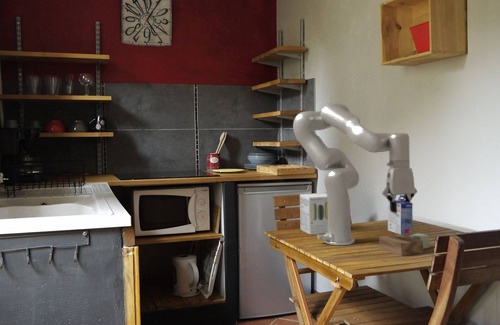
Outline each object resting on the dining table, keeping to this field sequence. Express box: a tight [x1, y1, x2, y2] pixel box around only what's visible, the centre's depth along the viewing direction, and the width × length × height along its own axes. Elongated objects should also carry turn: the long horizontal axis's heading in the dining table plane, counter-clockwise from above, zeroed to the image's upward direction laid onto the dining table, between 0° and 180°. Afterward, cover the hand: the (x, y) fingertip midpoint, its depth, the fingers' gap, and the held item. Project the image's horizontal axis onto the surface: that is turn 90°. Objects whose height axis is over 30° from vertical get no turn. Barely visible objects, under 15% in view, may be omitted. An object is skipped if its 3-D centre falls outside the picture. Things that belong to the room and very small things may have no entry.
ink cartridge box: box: [387, 194, 414, 236], centre depth 201 cm, size 10×6×14 cm, turn 16°
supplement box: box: [299, 192, 328, 235], centre depth 246 cm, size 13×13×18 cm
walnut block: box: [378, 234, 424, 257], centre depth 202 cm, size 10×14×5 cm
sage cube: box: [409, 233, 430, 250], centre depth 207 cm, size 5×5×5 cm
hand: (400, 210), depth 201 cm, fingers closed on ink cartridge box, 5 cm apart
